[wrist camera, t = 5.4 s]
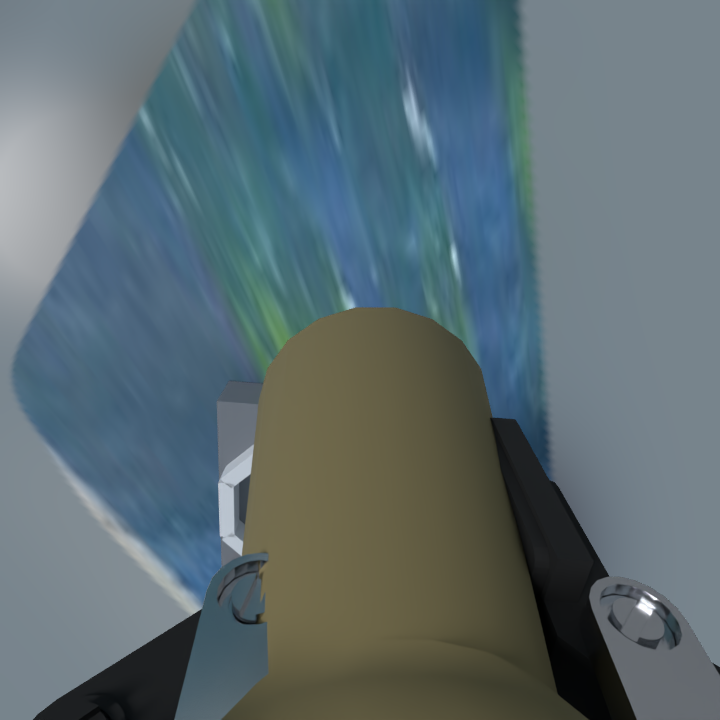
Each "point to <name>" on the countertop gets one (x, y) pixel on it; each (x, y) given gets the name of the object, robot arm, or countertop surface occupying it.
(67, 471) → the countertop surface
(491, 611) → the cork
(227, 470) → the octagon ring plate
